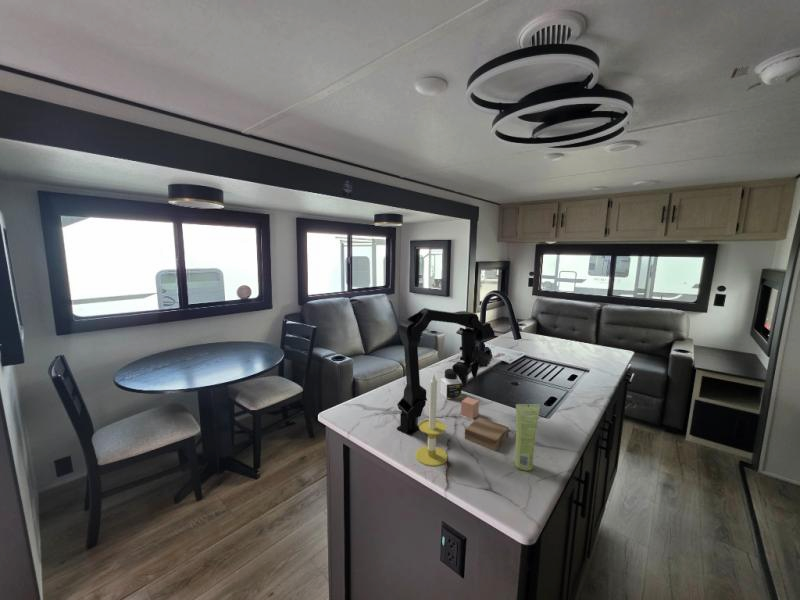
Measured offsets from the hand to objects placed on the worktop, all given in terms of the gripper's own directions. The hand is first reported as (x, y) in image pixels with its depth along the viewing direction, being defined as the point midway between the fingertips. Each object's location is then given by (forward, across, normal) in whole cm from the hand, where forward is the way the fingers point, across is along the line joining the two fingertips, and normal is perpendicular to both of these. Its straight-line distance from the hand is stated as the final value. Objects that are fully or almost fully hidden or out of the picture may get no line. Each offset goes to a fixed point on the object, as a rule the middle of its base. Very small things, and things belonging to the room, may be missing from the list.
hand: (470, 382), depth 125 cm
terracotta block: (+13, -1, 0) cm, 13 cm away
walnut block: (+13, -13, -11) cm, 22 cm away
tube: (+13, -21, -26) cm, 36 cm away
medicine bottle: (+14, +10, +14) cm, 23 cm away
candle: (+11, -33, -1) cm, 35 cm away
